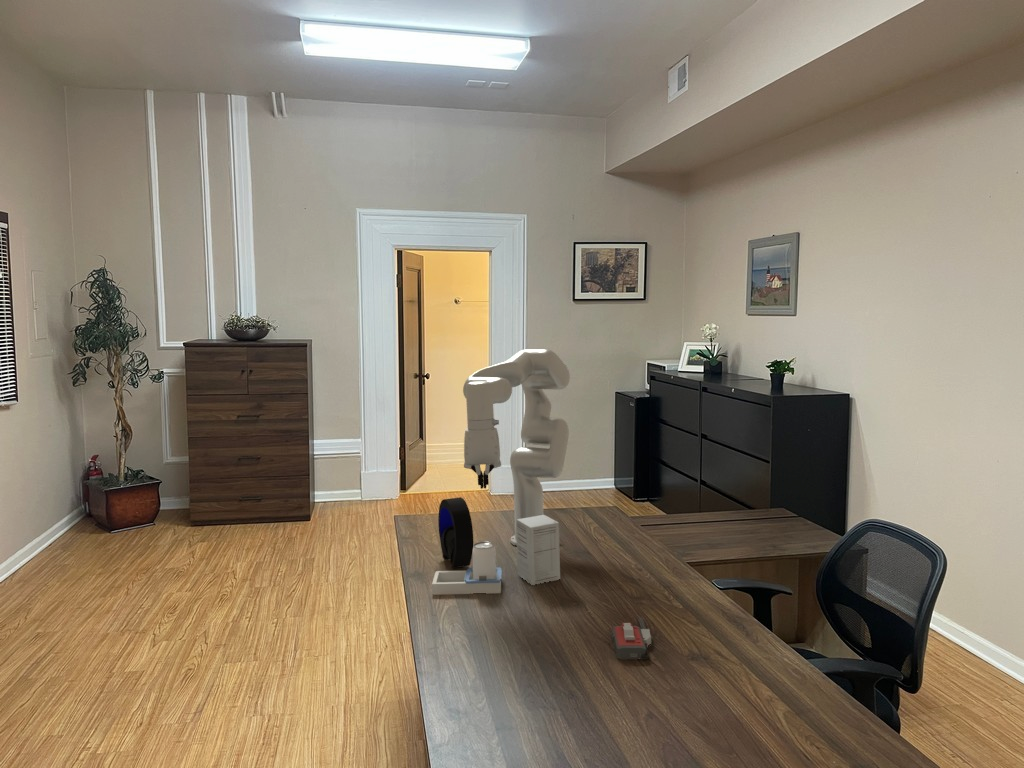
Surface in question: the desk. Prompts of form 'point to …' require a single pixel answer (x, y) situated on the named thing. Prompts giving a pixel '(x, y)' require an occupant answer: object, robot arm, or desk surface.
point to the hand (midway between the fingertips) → (483, 487)
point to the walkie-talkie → (631, 640)
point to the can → (484, 560)
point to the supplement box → (538, 549)
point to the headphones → (455, 531)
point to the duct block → (464, 583)
